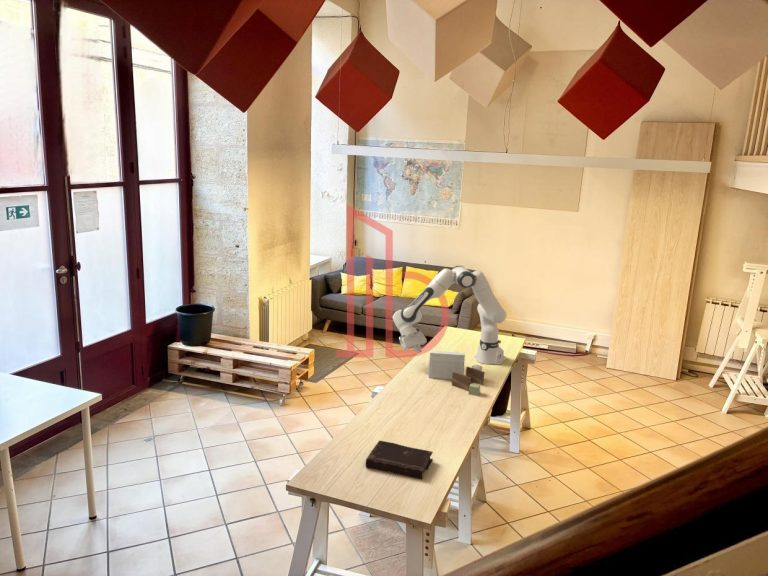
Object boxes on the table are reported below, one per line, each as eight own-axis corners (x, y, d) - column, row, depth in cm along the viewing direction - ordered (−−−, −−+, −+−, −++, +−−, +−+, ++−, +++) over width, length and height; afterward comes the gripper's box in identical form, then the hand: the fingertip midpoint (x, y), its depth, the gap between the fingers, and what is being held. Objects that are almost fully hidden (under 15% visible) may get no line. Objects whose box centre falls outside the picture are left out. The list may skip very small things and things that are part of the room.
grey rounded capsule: (474, 376, 366) (475, 364, 365) (483, 379, 363) (484, 366, 361) (469, 379, 362) (470, 366, 360) (477, 381, 358) (478, 369, 356)
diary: (422, 481, 247) (422, 470, 246) (365, 469, 254) (365, 458, 253) (433, 460, 264) (433, 449, 263) (379, 449, 272) (379, 439, 270)
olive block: (470, 391, 343) (471, 383, 342) (479, 393, 341) (480, 384, 340) (468, 394, 339) (469, 386, 338) (477, 396, 337) (478, 387, 336)
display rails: (466, 379, 362) (467, 366, 360) (483, 384, 354) (484, 371, 352) (451, 385, 351) (452, 372, 349) (468, 391, 343) (469, 378, 341)
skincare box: (463, 377, 365) (465, 352, 361) (463, 380, 359) (465, 355, 356) (428, 374, 366) (430, 350, 363) (428, 377, 361) (429, 352, 358)
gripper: (400, 334, 369) (412, 353, 365) (421, 328, 384) (432, 346, 380) (395, 339, 373) (406, 358, 369) (416, 333, 388) (426, 351, 384)
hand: (419, 352), depth 374 cm, fingers closed
